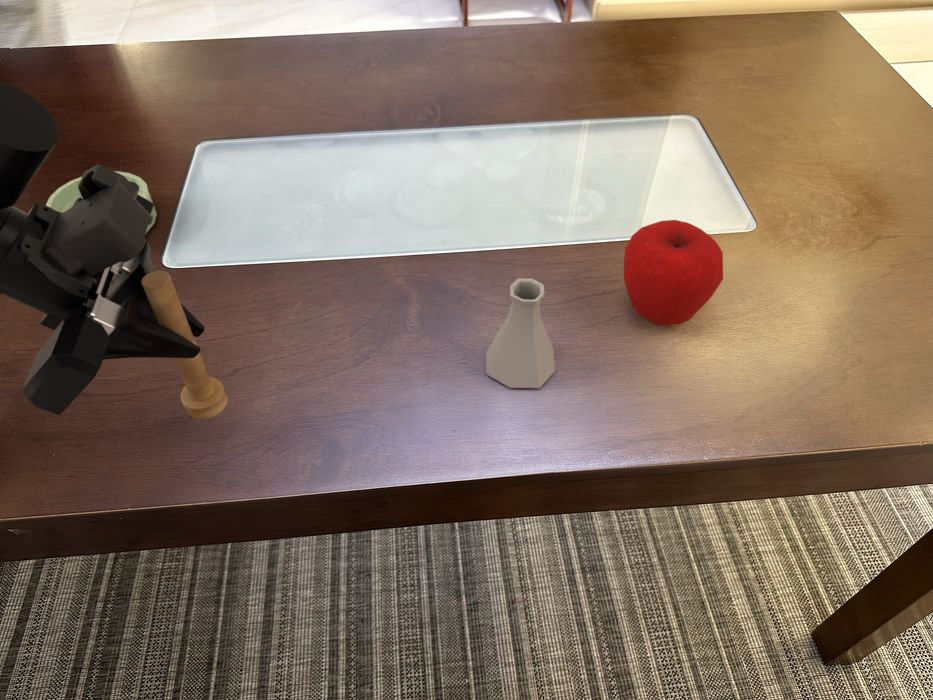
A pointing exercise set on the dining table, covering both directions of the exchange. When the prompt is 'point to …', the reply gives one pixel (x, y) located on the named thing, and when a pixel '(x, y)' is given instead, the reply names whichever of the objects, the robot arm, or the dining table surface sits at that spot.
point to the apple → (671, 271)
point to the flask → (522, 341)
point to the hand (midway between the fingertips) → (199, 343)
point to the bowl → (70, 192)
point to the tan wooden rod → (200, 391)
